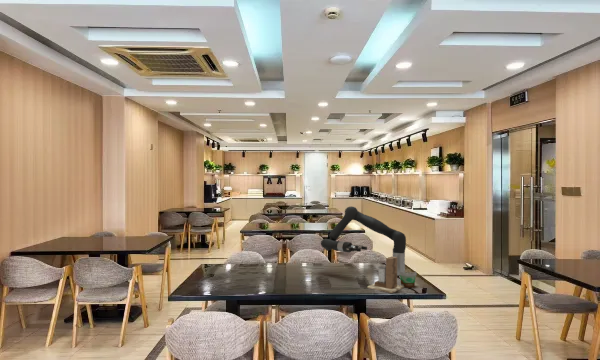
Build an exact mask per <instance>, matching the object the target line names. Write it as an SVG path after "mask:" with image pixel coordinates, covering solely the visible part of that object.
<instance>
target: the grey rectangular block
mask: <svg viewBox="0 0 600 360" xmlns="http://www.w3.org/2000/svg"><path fill="white" fill-rule="evenodd" d="M378 281H379V283H383V284H386V265H379V266H378Z"/></svg>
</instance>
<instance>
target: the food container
mask: <svg viewBox="0 0 600 360" xmlns="http://www.w3.org/2000/svg"><path fill="white" fill-rule="evenodd" d="M399 275H400V276H399V279H400V285H401V286H404V288H408V289H411V288H412V289H413V288H415V286H416V285H415V284H416V276H417V272H416V271H414V272H411V271H410V272H408V271H407V272H406V271H405V273H402V272H400V273H399Z"/></svg>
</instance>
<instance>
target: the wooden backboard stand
mask: <svg viewBox="0 0 600 360" xmlns="http://www.w3.org/2000/svg"><path fill="white" fill-rule="evenodd" d="M385 260H386V261H385V262H386V264H385V266H386V284H383V283H379V280H377V281H374V283H373V284H369V285H368V286H367V287H366V288H367V289H370V290H376V291H380V292H385V293H388V294H393V293H396V292H398V291H400V290H402V289H404V288H405V287H404V286H401V284H398V276H397V257H393V256H390V257H386V258H385Z"/></svg>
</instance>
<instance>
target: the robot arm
mask: <svg viewBox="0 0 600 360" xmlns="http://www.w3.org/2000/svg"><path fill="white" fill-rule="evenodd" d="M352 220H353V221H356V222H358V223H360V224H361V225H363V226H364V227H366V228H367V229H369V230H370V231H372V232H375V233H377V234H381V235H383V236H385V237H387V238H389V239H390V240H392V241H393V247H392V257H397V277H400V275H399V273H400V272H402V273H406V271H405V268H406V264H405V263H406V258H405V257H406V248H407V239H406V238H407V237H406V235H405V233H403V232H401V231H398V230H397V229H394V228H391V227H389V226H388V225H387V224H385V223H384V222H382V221H380V220H379V219H377V218H375V217H373V216H369V215H367V214H364V213H362V212H361V211H359V210H358V208H356V206H348V207H346V208H345V210H344V215H343V216H342V218H341V219H340V221H339V222H338V223H337V224H336V225H335V226H334V227H333V228H332V230H331V231H330V233H329V234H328V236H329V238H324V239H322V240H321V241H320V245H321V247H322V248H323V249H324V250H326V251H327V252H328V251H332V250H334V251H338V252H342V253H348V254H349V253H351V252H362V250H365V251H367V250H368V247H367V246H365V245H363V244H362V245H361V244H353V243H352V242H351V241H350V242H349V241H338V238H339V237H340V235H342V233H343V232H344V230H346V228H347V226H348V225H349V224H350V223H351V222H352Z"/></svg>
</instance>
